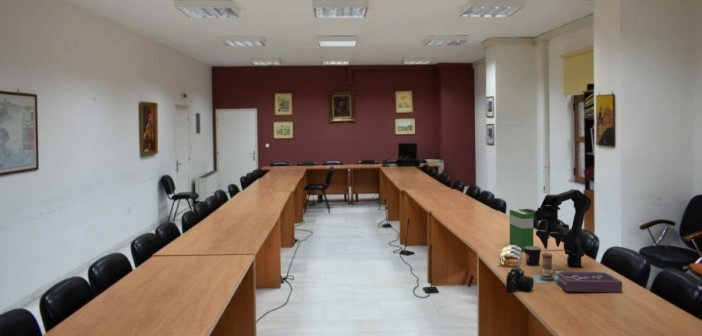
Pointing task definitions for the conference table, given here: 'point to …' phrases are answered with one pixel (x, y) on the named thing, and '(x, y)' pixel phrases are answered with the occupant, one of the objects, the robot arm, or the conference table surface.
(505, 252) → the diorama
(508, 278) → the film camera
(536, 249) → the coffee mug
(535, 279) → the flat light blue board
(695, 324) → the conference table surface
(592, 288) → the book
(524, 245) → the hardback book
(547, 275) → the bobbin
